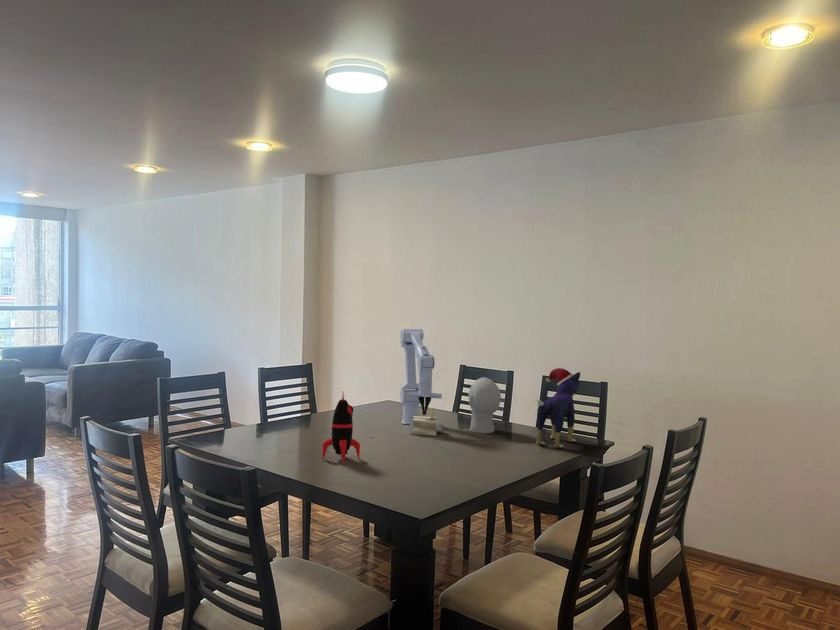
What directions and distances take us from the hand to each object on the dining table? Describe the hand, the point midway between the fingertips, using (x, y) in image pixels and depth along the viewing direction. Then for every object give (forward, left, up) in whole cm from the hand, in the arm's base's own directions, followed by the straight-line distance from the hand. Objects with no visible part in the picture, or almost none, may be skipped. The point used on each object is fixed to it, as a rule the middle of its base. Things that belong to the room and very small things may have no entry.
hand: (424, 414), depth 271 cm
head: (-7, +26, -8) cm, 28 cm away
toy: (+12, +53, -8) cm, 55 cm away
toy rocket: (+48, -31, -8) cm, 58 cm away
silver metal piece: (0, +1, -8) cm, 8 cm away
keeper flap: (0, +3, -1) cm, 3 cm away
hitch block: (0, 0, -8) cm, 8 cm away
